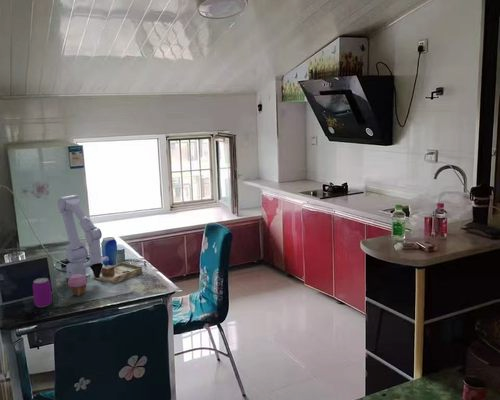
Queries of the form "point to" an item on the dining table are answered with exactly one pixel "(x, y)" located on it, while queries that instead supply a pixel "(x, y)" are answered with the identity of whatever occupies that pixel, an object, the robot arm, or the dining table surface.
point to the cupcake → (78, 284)
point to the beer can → (109, 250)
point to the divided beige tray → (121, 272)
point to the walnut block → (108, 271)
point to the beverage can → (42, 292)
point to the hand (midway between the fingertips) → (97, 277)
